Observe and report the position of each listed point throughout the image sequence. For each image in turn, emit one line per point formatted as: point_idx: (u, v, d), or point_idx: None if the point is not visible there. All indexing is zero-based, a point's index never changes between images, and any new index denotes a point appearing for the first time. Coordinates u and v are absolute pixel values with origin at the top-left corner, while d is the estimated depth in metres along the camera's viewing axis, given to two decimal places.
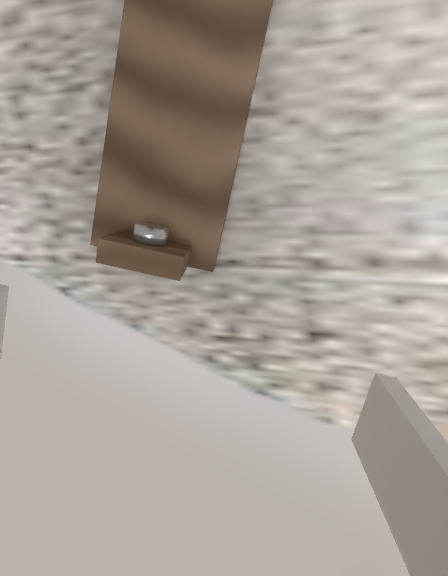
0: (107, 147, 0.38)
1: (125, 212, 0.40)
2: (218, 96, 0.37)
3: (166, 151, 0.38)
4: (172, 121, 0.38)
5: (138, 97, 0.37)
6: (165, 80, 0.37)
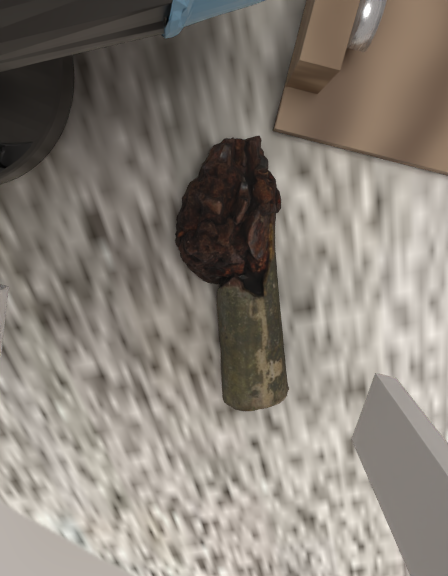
0: None
1: None
2: None
3: None
4: None
5: None
6: None
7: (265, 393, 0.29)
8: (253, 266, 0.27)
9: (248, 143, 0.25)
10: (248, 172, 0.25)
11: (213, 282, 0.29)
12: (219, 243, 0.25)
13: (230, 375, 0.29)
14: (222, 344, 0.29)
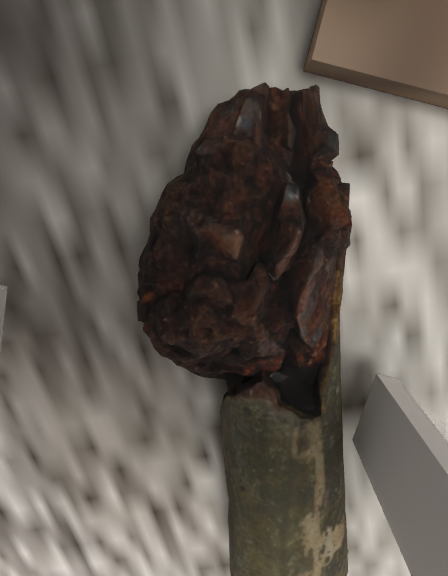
0: None
1: None
2: None
3: None
4: None
5: None
6: None
7: None
8: (301, 359, 0.13)
9: (297, 97, 0.11)
10: (297, 161, 0.11)
11: (214, 377, 0.15)
12: (235, 321, 0.11)
13: (249, 553, 0.15)
14: (233, 496, 0.15)
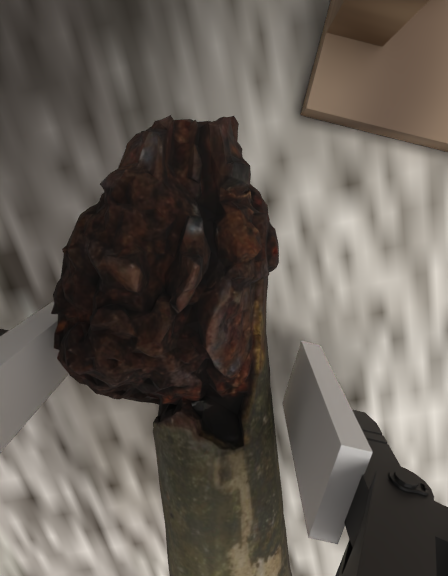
0: None
1: None
2: None
3: None
4: None
5: None
6: None
7: None
8: (221, 389, 0.13)
9: (205, 129, 0.11)
10: (206, 193, 0.11)
11: (148, 402, 0.15)
12: (142, 352, 0.11)
13: None
14: (165, 521, 0.15)
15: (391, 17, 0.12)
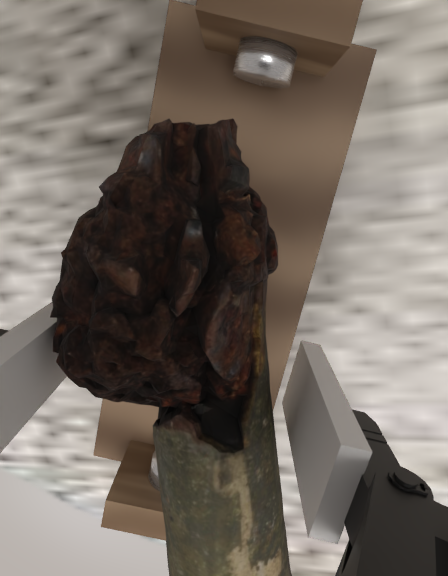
0: None
1: (139, 419, 0.31)
2: None
3: None
4: None
5: None
6: None
7: None
8: (221, 391, 0.13)
9: (204, 132, 0.11)
10: (205, 196, 0.11)
11: (147, 404, 0.15)
12: (141, 356, 0.11)
13: None
14: (165, 524, 0.15)
15: None
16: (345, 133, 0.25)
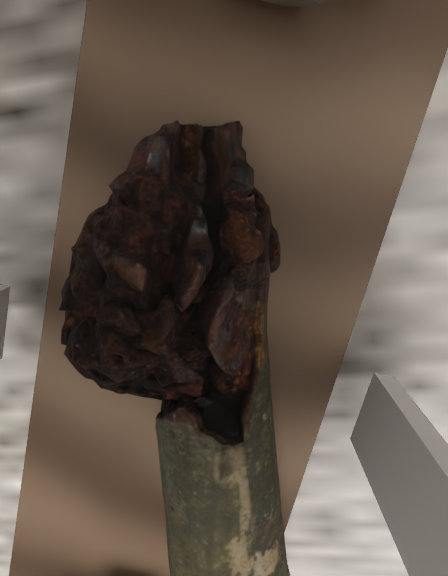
0: (34, 439, 0.18)
1: (75, 548, 0.20)
2: (270, 355, 0.17)
3: (157, 450, 0.18)
4: None
5: None
6: None
7: None
8: (223, 385, 0.13)
9: (211, 133, 0.11)
10: (211, 195, 0.12)
11: (151, 397, 0.15)
12: (146, 349, 0.12)
13: (180, 572, 0.15)
14: (166, 514, 0.15)
15: None
16: (417, 99, 0.15)
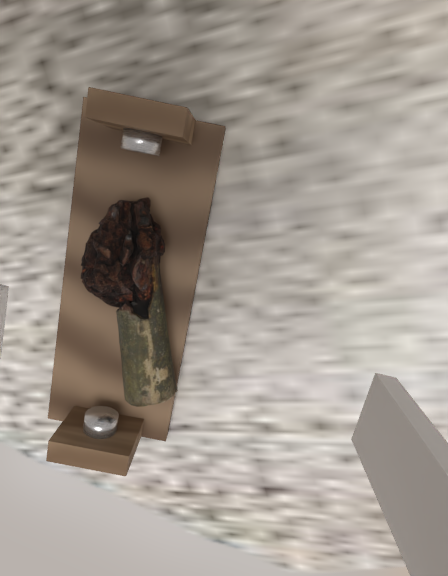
0: (60, 334, 0.40)
1: (80, 390, 0.42)
2: None
3: (116, 337, 0.40)
4: None
5: (87, 291, 0.39)
6: None
7: (153, 393, 0.37)
8: (140, 296, 0.35)
9: (133, 205, 0.33)
10: (133, 226, 0.34)
11: (115, 306, 0.37)
12: (111, 279, 0.34)
13: (126, 378, 0.37)
14: None
15: None
16: (209, 182, 0.37)
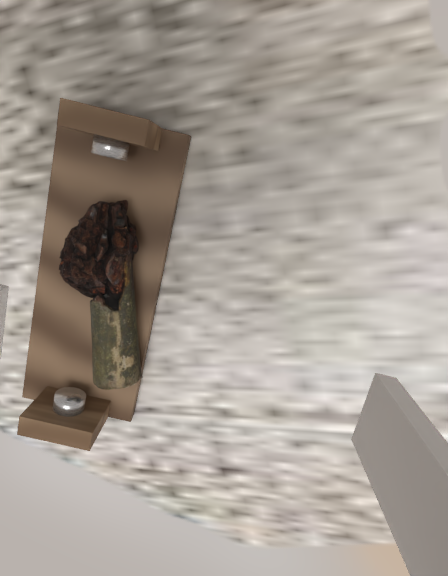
0: (35, 320, 0.44)
1: (52, 372, 0.45)
2: None
3: (86, 325, 0.44)
4: None
5: (61, 282, 0.43)
6: None
7: (118, 378, 0.41)
8: (112, 289, 0.38)
9: (111, 207, 0.37)
10: (110, 226, 0.37)
11: (89, 296, 0.41)
12: (85, 272, 0.37)
13: (95, 363, 0.41)
14: None
15: None
16: (174, 185, 0.40)
